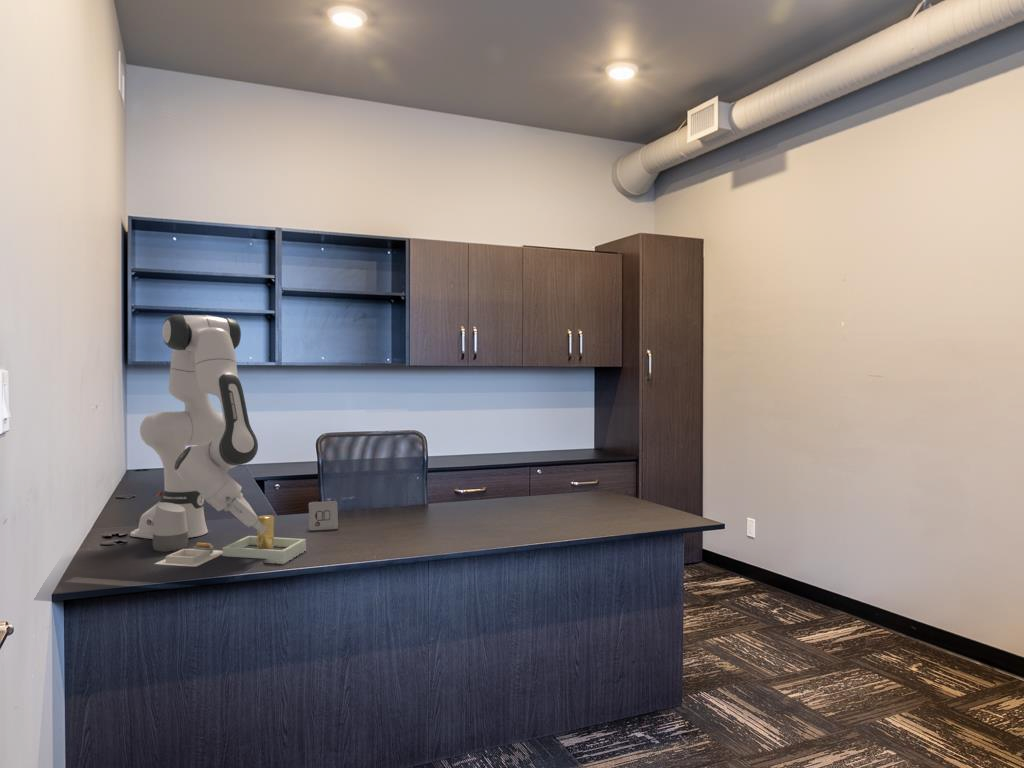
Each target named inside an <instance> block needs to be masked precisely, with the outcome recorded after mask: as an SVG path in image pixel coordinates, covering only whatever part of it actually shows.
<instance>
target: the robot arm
mask: <svg viewBox="0 0 1024 768" xmlns="http://www.w3.org/2000/svg"><path fill="white" fill-rule="evenodd" d="M241 331H242V330H241V327H240V325H239V323H238V322H237V321H236V320H235V319H233V318H228V317H220V316H214V315H207V314H202V315H201V314H200V315H199V314H197V315H196V314H194V315H192V314H189V315H188V314H187V315H183V314H173V315H169V316H167V318H166V319H165V320H164V323H163V327H162V331H161V333H162V334H161V335H162V338H163V342H164V345H166V346H167V347H168V348H169V349H172V354H171V359H170V365H169V366H170V367H169V369H170V370H169V379H168V380H169V381H168V391H169V393H170V395H171V396H172V397H174V399H176V400H178V401H181V402H182V403H184V410H183V411H162V412H161V411H160V412H156V413H153V414H148V415H146V416H145V418H144V419H143V420H142V421H141V424H140V427H139V433H140V438H141V440H142V441H143V442H144V443H145V445H147V446H148V447H150V448H151V449H152V450H154V451H155V452H156V454H157V455H158V456H159V458H160V460H161V463H162V466H163V467H162V468H163V475H164V480H163V481H164V489H163V490H161V491H160V492H157V493H156V495H155V497H156V498H159V500H158V502H157V503H156V504H154V505H153V506H152V507H151V508H149V509H148V510H147V511H144V513H143V514H142V515H141V516H140V518H139V523H138V528H136V529H134V530H132V531H131V532H130V537H133V538H141V539H142V538H143V539H151V540H153V529H154V521H155V512H156V505H157V504H158V503H161V502H167V503H173V504H177V505H180V506H182V507H184V508H185V512H186V520H187V528H188V539H189V538H190V539H191V538H194V537H200V536H204V535H205V534H208V533H209V530H208V527H207V523H206V518H205V511H204V505H205V501H206V503H208V504H209V505H210V506H211V507H212V508H214V509H215V510H216V511H217V512H220V511H222V510H223V511H225V512H230V513H231V514H232V515H233V516H234V517H235V518H237V519H238V520H239V521H240V523H242V524H243V525H245V526H246V527H247V528H251V527H253V528H254V529H255V530H259V531H260V532H261V533H263V532H264V531H265V530H266V527H265V526H264V525H263V524H261V522H260V521H259V520H258V517H259V516H258V515H257V514H256V512H255V511H254V509H253V508H252V506H251V505H250V503H249V502H248V501H247V500H246V499H245V497H244V493H242V492H241V491H242V487H243V486H242V485H240V484H239V483H238V482H237V481H236V480H235V479H233V478H232V477H231V476H230V475H229V473H228V472H229V471H230V469H233V468H235V467H237V466H241V465H245V464H248V463H249V462H252V460H253V459H254V458H255V457H256V455H257V453H258V449H259V448H258V447H259V444H258V439H257V436H256V435H255V433H254V431H253V429H252V427H251V424H250V421H249V415H248V410H247V409H248V408H247V406H246V405H247V404H246V399H245V394H244V391H243V387H242V383H241V381H240V379H239V373H238V365H237V358H236V352H235V351H236V350H235V349H236V348H237V347H239V345H240V342H241V338H242V337H241V336H242V332H241ZM209 394H210V395H213V396H216V397H217V398H218V399H219V402H220V406H221V407H220V408H221V411H222V414H220V412H219V411H217V410H216V409H215V408H214V407H213V405H212V403H211V401H210V397H209ZM188 446H189V447H188Z"/></svg>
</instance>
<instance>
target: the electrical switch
mask: <svg viewBox="0 0 1024 768" xmlns="http://www.w3.org/2000/svg"><path fill="white" fill-rule="evenodd" d="M338 513H339V511H338V501H336V500H334V501H330V500H329V501H312V502H309V503H308V530H309V531H310V532H313V531H315V532H316V531H330V530H332V531H333V530H337V529H338V527H339V518H338V517H339V515H338ZM317 524H318V525H317Z"/></svg>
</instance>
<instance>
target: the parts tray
mask: <svg viewBox="0 0 1024 768" xmlns="http://www.w3.org/2000/svg"><path fill="white" fill-rule="evenodd" d="M248 546H257V535H247V536H245V537H242V538H241V539H238V540H236V541H234V542H232V543H229V544H227V545H225V546H223V547H222V551H223V553H222V555H221V556H222V557H233V558H250V559H263V560H262V561H261V562H263V563H264V564H275V563H276V564H277V565H279V564H280V565H284V564H286V563H288V562H290V561H292V560H293V559H294V557H295V558H296V556H297V557H298V556H300V555H302V554H303V553H305V552H307V547H306V546H307V539H305V538H290V537H274V542H273V547H279V548H280V547H282V548H283V547H284V548H283V549H273V550H271V549H257V548H253V547H251V548H250V547H248ZM304 551H305V552H304ZM301 553H302V554H301ZM299 554H300V555H299ZM289 560H290V561H289ZM263 563H262V564H263ZM276 564H275V565H276Z"/></svg>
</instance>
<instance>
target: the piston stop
mask: <svg viewBox="0 0 1024 768" xmlns="http://www.w3.org/2000/svg"><path fill="white" fill-rule="evenodd" d="M257 517H258V520H259V521H260V522H261V524H263V525H264V526H265V527H266V530H265V531H264V532H263V533H261V532H260V531H259V530H257V529H256V530H257V531H256V533H257V535H256V536H257V545H256V549H271V550H274V546H273V542H274V534H275V532H274V531H275V526H274V525H275V515H270V514H269V515H266V514H265V515H259V516H257Z"/></svg>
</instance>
